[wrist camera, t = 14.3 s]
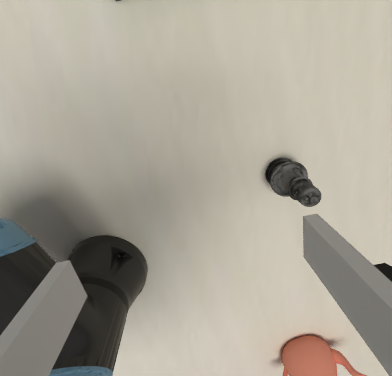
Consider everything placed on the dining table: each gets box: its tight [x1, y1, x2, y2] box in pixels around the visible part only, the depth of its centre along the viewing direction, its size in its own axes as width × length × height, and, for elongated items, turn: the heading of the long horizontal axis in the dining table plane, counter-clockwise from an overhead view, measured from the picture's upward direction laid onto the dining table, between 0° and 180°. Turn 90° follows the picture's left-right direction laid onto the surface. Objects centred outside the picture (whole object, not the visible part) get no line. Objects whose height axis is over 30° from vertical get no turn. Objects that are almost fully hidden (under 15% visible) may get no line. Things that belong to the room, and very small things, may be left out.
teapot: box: [282, 335, 366, 376], centre depth 54 cm, size 12×18×10 cm
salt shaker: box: [266, 158, 321, 207], centre depth 34 cm, size 6×6×12 cm
